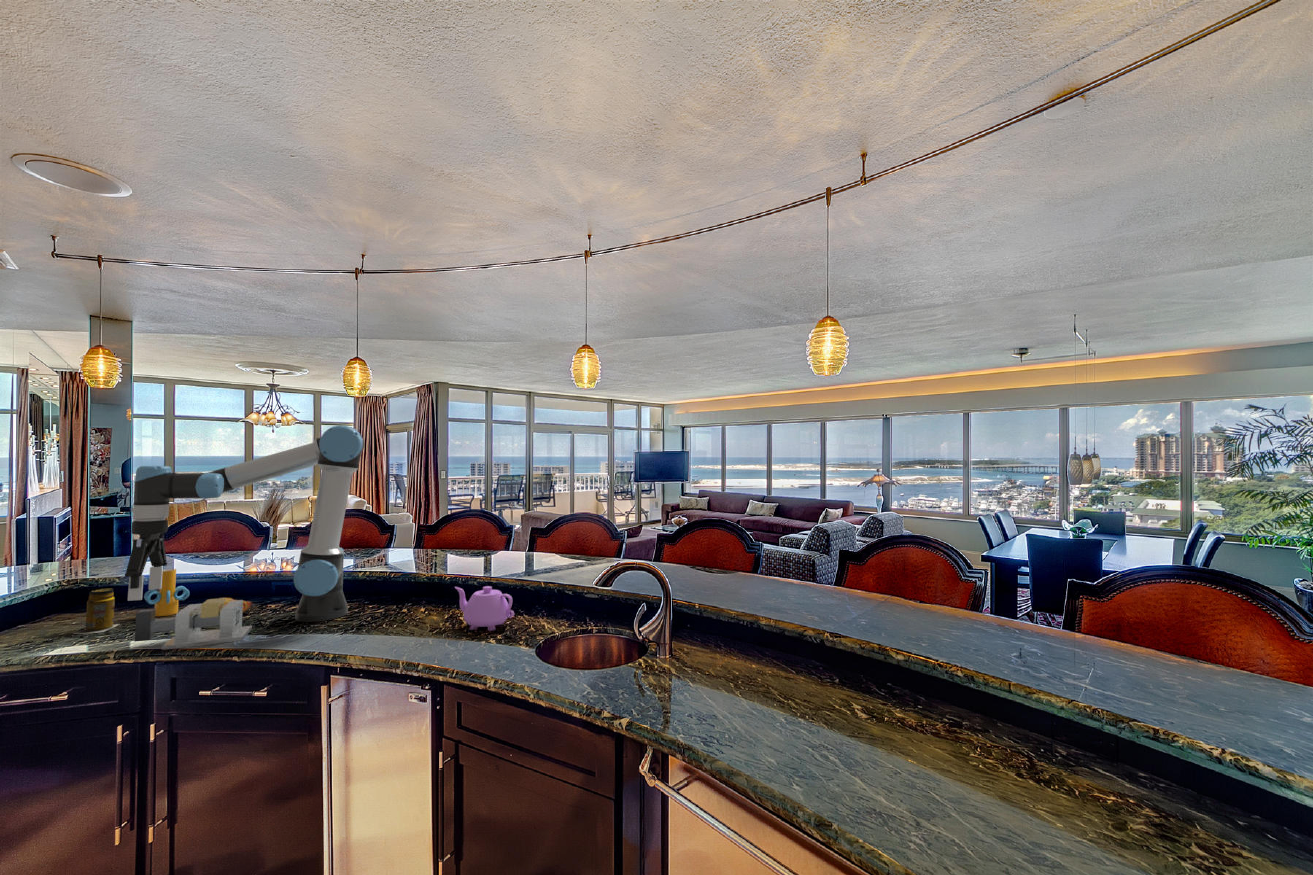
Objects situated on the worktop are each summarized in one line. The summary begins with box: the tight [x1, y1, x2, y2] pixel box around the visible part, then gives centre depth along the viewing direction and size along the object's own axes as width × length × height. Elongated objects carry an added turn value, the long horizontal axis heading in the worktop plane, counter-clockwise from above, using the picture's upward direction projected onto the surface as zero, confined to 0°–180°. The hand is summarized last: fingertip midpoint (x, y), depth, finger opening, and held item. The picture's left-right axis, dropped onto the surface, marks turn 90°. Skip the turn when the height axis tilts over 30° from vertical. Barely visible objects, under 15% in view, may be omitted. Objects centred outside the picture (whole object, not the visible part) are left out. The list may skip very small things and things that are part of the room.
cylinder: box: [143, 568, 190, 617], centre depth 182 cm, size 12×10×15 cm
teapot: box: [454, 585, 515, 632], centre depth 171 cm, size 20×14×12 cm
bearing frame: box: [161, 599, 253, 651], centre depth 157 cm, size 18×12×9 cm, turn 116°
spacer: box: [201, 597, 226, 618], centre depth 157 cm, size 4×6×4 cm, turn 26°
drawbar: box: [134, 608, 239, 642], centre depth 155 cm, size 23×3×8 cm, turn 116°
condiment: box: [72, 588, 121, 635], centre depth 165 cm, size 7×8×12 cm
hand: (145, 594), depth 151 cm, fingers open, 13 cm apart
